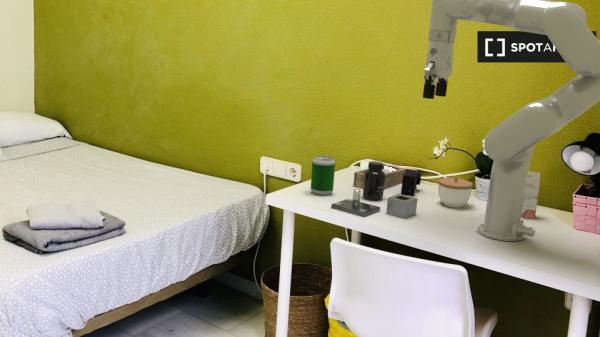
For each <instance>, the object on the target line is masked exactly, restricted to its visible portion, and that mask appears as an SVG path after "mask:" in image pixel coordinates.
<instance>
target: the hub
mask: <svg viewBox="0 0 600 337" xmlns="http://www.w3.org/2000/svg"><path fill="white" fill-rule="evenodd" d="M417 210H418V198H417V197H414V196H406V195H402V194H401V193H398V194H397V193H396V194H394V195H391V196H389V197H387V202H386V212H385V213H386V214H387V215H389V216H395V217H398V218H401V219H404V220H405V219H408V218H410V217H413V216H416V214H417Z"/></svg>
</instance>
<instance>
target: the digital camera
mask: <svg viewBox="0 0 600 337" xmlns="http://www.w3.org/2000/svg"><path fill="white" fill-rule="evenodd" d="M405 169H406V170H405V172H404V174H403V179H402V183H401V191H400V194H402V195H406V196H410V197H414V195H415V193H416V191H417V186H420V185H421V181H422V180H421V179H422V172H419V170H416V169H409V168H405Z"/></svg>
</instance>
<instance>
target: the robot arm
mask: <svg viewBox="0 0 600 337" xmlns="http://www.w3.org/2000/svg"><path fill="white" fill-rule="evenodd" d="M587 19H588V18H587V13H586V11H585V9H584V7H583V6H581V5H579V4H577V3H573V2H568V1H555V0H432V3H431V13H430V20H429V29H428V35H427V36H428V37H427V42H429V44H428V49H427V55H426V61H425V66H424V67H425V69H424V76H423V77H424V79H423V91H422V98H423V99H428V100H434V99H435V96H437V97H442V98H443V97H444V98H445V97H447V88H448V83H449V78H450V77H451V76H452V74H453V64H454V63H453V62H454V44H455V42H456V36H457V26H458V20H461V21H465V22H476V23H477V22H478V23H485V24H490V25H491V24H492V25H498V26H504V27H509V28H511V29H512V30H514V31H518V32H526V33H530V34H531V33H532V34H538V35H544V36H545V35H546V36H547V37H548V39H549V40H550V42H551V43H552V45H553V46H554V48H555V49H556V51H557V52H558V53H559V55H560V56H561V58H562V59H563V60H564V61H565V63H566V65H567V66H568V67H569V68H570V70H572V72H574V73H575V74H577V75H576V76H575V77H573V78H572V79H571V80H569V81H568V82H565V84H563V85H562V86H561V87H559V88H558V89H557V90H555V91H554V92H553V93H551V94H550V95H548V96H547V97H545V98H542V99H539V100H535V101H532V102H529V103H527V104H525V105H524V106H522V107H521V108H519V109H518V110H517V111H515V112H514V113H512V114H511V115H510V116H508V117H507V118H505V119H504V120H503V121H502V122H500V123H499V124H498V125H496V126H495V127H493V128H492V129H491V130H490V131H489V132H488V133H487V135H486V137H485V139H484V142H483V147H484V152H485V153H486V155H487V156H488V158H490V159H491V160H493V162H492V167H491V171H490V179H489V187H488V193H487V199H486V209H485V215H484V221H483V223H481V224H479V225H478V226H477V232H478V233H479V234H480V235H482V236H484V237H487V238H490V239H493V240H498V241H506V242H516V241H521V240H523V239H524V238H525V236H528V237H535V234H536V229H534V228H533V227H530V226H526V225H525V224H524V219H522V217H521V215H522V208H523V201H524V195H525V188H526V182H527V177H529V175H528V172H529V169H530V164H531V161H532V156H533V153H534V148H535V146H536V145H537V144H538V143H540V142H542V140H544V139H546V138H548V137H550V136H552V135H554V134H556V133H558V132H560V130H562V129H563V128H564V127H565V126H567V125H568V124H569V123H570V122H572V121H573V120H575V119H576V118H578V117H579V116H581V115H582V114H583V113H585V112H586V111H587V110H589V109H590V108H592V107H593V106H594V105H596V104H598V102H600V40H599V39H598V38H597V37H596V35H595V34H594V33H593V31H592V30H591V29H590V27H589V26H588V24H587ZM436 81H437V82H436Z"/></svg>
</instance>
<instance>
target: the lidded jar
mask: <svg viewBox="0 0 600 337" xmlns="http://www.w3.org/2000/svg"><path fill="white" fill-rule="evenodd" d="M437 189H438V190H437V191H438V198H439V199H440V201H441V202H442V203H443V206H446V207H449V208H454V209H455V208H456V209H457V208H458V209H459V208H462V207H463V206H464V205H465V204H466V203H468V201H469V199H470V198H471V194H472V189H473V183H472V182H471V181H469V180H467V179H463V178H459V177H458V176H454V177H443V178H440V179H438V188H437Z"/></svg>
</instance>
